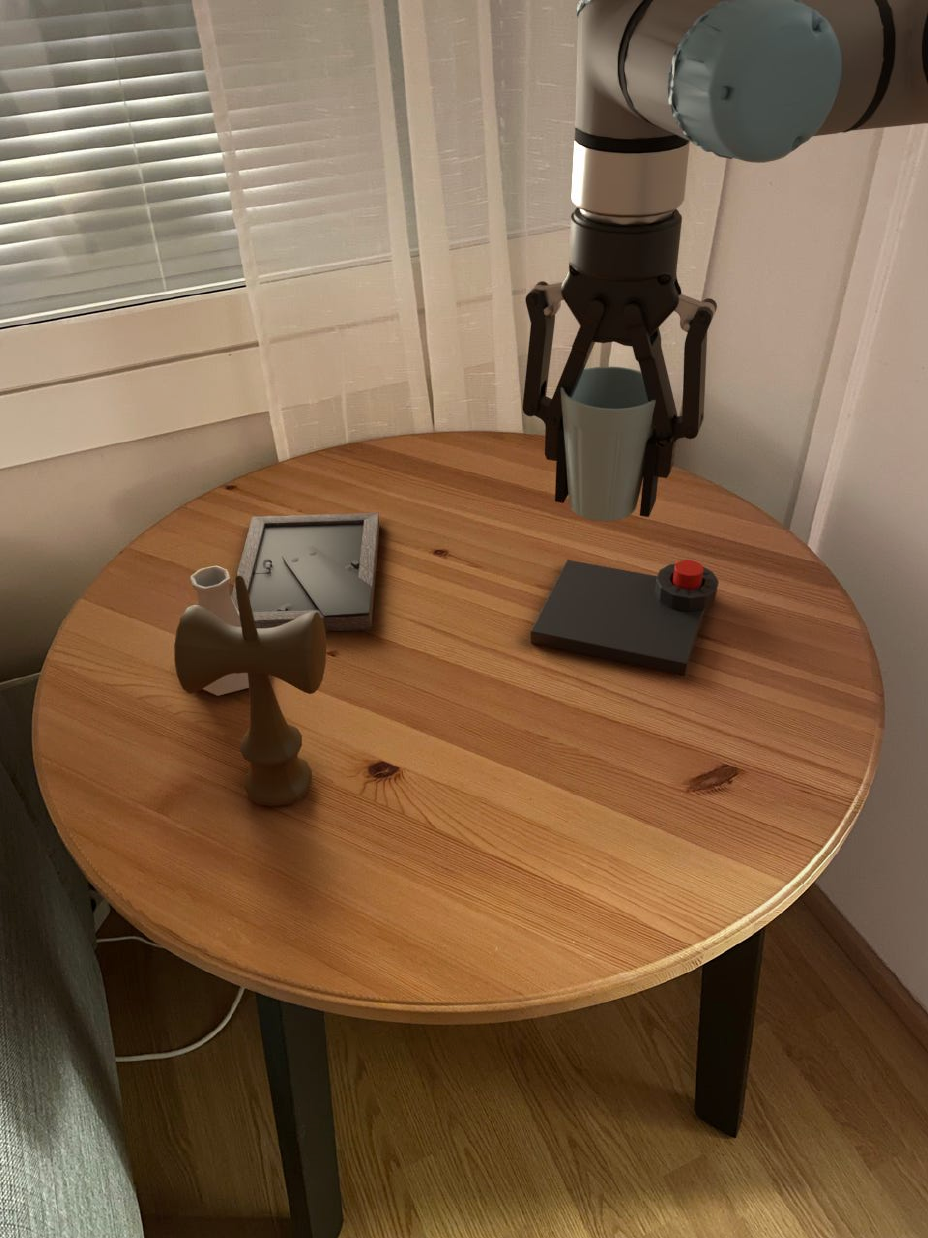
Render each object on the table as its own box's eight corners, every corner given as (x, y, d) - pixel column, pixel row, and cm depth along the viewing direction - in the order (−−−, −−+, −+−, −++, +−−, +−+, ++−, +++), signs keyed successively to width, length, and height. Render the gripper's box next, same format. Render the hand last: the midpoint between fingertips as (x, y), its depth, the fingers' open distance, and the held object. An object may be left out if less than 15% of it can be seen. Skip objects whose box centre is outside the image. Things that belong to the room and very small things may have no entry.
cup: (564, 476, 86) (570, 361, 80) (654, 486, 85) (667, 370, 78) (547, 522, 80) (552, 403, 74) (643, 534, 79) (656, 413, 72)
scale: (718, 594, 96) (722, 568, 94) (693, 678, 86) (698, 651, 85) (568, 566, 100) (569, 541, 98) (530, 643, 91) (530, 616, 89)
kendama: (228, 756, 80) (179, 548, 68) (347, 760, 80) (319, 550, 67) (208, 814, 75) (151, 601, 63) (334, 819, 75) (302, 604, 63)
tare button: (703, 577, 94) (705, 562, 92) (698, 593, 92) (700, 577, 91) (675, 572, 94) (677, 557, 93) (670, 588, 92) (672, 572, 91)
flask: (174, 666, 89) (149, 574, 83) (245, 633, 93) (227, 542, 87) (213, 708, 85) (191, 614, 79) (287, 671, 88) (270, 578, 82)
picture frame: (371, 629, 93) (379, 525, 107) (369, 612, 92) (378, 508, 106) (227, 634, 93) (254, 529, 107) (223, 617, 91) (251, 513, 106)
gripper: (779, 203, 68) (731, 497, 82) (508, 183, 74) (507, 461, 88) (765, 236, 63) (716, 545, 77) (474, 212, 68) (479, 504, 82)
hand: (605, 500), depth 82 cm, fingers closed on cup, 6 cm apart
